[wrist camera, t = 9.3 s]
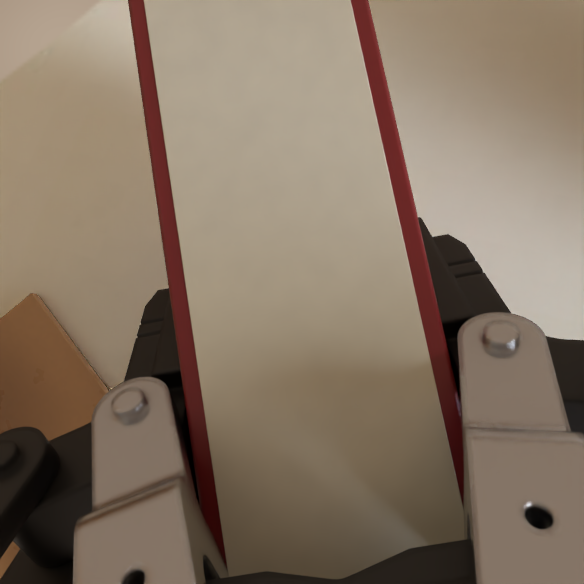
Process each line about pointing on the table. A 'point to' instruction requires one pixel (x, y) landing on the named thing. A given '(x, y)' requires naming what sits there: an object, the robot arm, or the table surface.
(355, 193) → the red book
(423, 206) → the table surface
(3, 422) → the copper sheet
